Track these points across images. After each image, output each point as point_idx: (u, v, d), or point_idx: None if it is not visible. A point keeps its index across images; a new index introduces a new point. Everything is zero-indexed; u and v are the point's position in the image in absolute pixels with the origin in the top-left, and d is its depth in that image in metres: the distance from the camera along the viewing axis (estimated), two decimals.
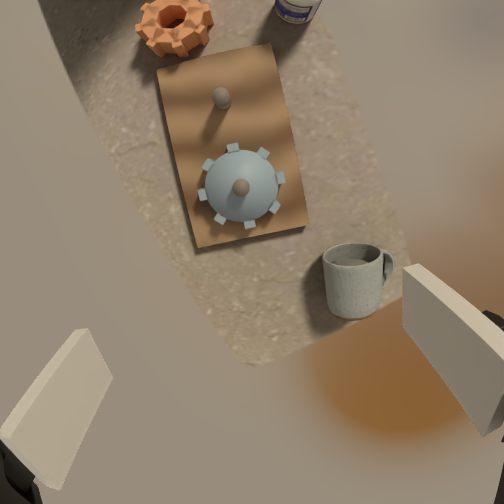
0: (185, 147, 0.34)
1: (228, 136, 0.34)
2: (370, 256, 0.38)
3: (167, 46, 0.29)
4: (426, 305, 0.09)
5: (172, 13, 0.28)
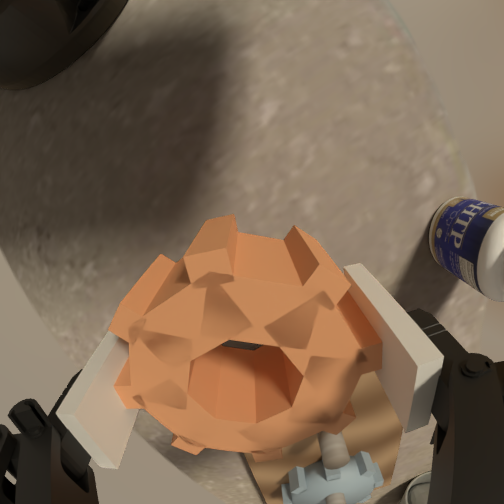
0: None
1: None
2: None
3: None
4: (360, 302, 0.10)
5: None
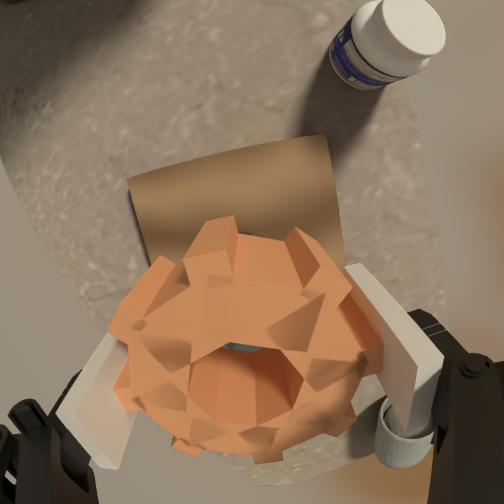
0: None
1: None
2: None
3: None
4: (360, 302, 0.10)
5: None
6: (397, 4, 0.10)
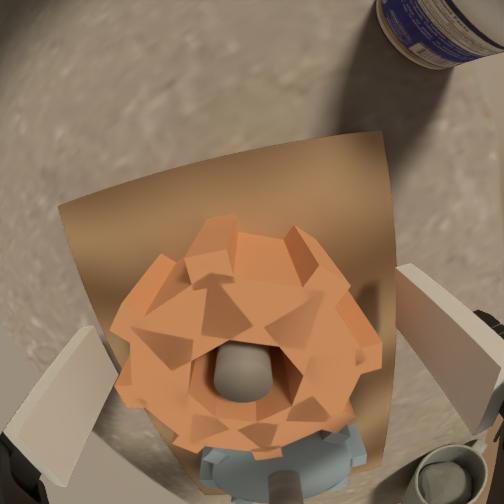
0: None
1: None
2: (466, 458, 0.19)
3: None
4: (418, 304, 0.09)
5: None
6: None
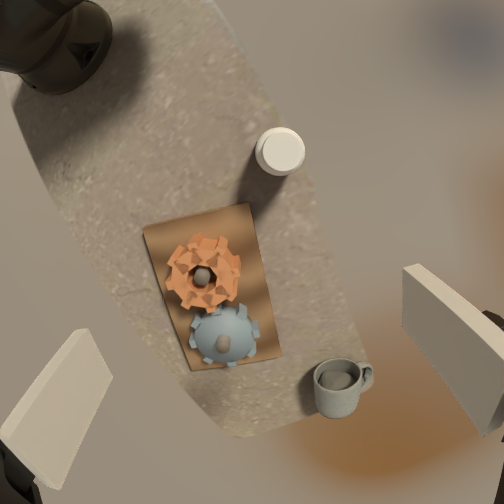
0: (175, 300, 0.41)
1: None
2: (353, 369, 0.45)
3: None
4: (426, 305, 0.09)
5: None
6: (272, 142, 0.28)
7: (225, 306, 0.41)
